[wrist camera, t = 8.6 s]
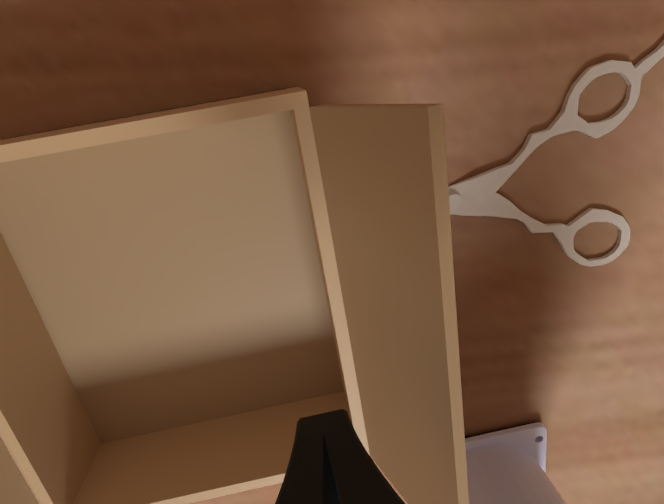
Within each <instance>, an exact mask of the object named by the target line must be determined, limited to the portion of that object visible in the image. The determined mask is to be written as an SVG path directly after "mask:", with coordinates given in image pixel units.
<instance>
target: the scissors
mask: <svg viewBox="0 0 664 504" xmlns="http://www.w3.org/2000/svg"><path fill="white" fill-rule="evenodd" d="M662 57H664V39H663V40H662V41H661V43H660V44H659V45H658V46H657V47H656V48H655V49H654V50H653V51H652V52H651V53H650V54H648V55H647V56H646V57H644V58H643V59H641V60H640V61H639V62H638V63H637V64H636V65H634V66H633V65H632V63H631V62H626V61H616V60H607V61H604V62H601V63H599V64H596V65H593V66H590V67H588V68H586V69H585V70H584V71H583V72H582V73H581V75H580V76H579V77H578V78H577V79H576V80H575V82H574V83H573V84H572V85H571V87H570V89H569V91H568V92H567V94H566V96H565V99H564V102H563V105H562V109H561V112H560V113H559V114H558V115H557V117H556V118H555V119H554V120H553V121H552V123H551V124H550V125H549V126H548V128H547V129H545V130H541V131H538V132H534V133H531V134H528V136H527V138H526V140H525V142H524V144H523V146H522V148H521V150H520V151H519V152H518V153H517V154H516V155H515V156H514V157H513V158H512V159H511V161H510V162H509V163H507V164H504V165H501V166H498V167H496V168H493V169H490V170H488V171H485V172H483V173H480V174H478V175H475V176H473V177H470V178H468V179H466V180H463V181H461V182H458V183H456V184H453V185H451V186H448V190H449V205H450V215H452V214H454V215H461V216H493V217H501V218H513V219H518V220H520V221H521V222H523V223H524V225H525V226H526V228H527V229H528V230H529V232H531V233H546V232H552V233H553V235H554V236H555V237H556V239H557V240H558V242H559V243H560V245H561V248H562V250H563V252H564V253H565V254H566V255H567V256H568V257H570V258H571V259H573V260H574V261H576V262H577V263H579V264H580V265H584V266H589V267H594V266H600V265H605V264H607V263H609V262H611V261H613V260H614V259H616V258H617V257H618V256H619V255H620V254H621V253H622V252H623V251H624V250H625V249H626V248H627V246H628V243H629V241H630V227H629V226H628V224H627V222H626V221H625V219H624V217H622V216H620V215H618V214H615V213H613V212H611V211H608V210H606V209H598V208H588V209H587V210H585V211H584V212H583V213H581V214H580V215H579V216H577V217H576V218H575V219H573V220H572V221H571V222H569V223H568V224H566V225H564V224H562V223H550V224H543V223H541V222H539V221H537V220H535V219H533V218H531V217H530V216H528V215H526V214H525V213H523V212H522V211H520V210H519V209H518V208H517V207H516V206H515V205H514V204H513V203H512V202H510V201H509V200H507V199H506V198H504V197H503V196H501V195H499V194H498V193H496V192H497V190H498V189H499V188H500V187H501V186H502V185H503V184H504V183H505V182H506V181H507V180H508V178H509V177H510V176H511V175H512V174H513V173H514V172H515V171H516V170H517V169H518V168H519V166H520V165H521V164H522V163H523V162H524V161H525V160H526V158H527V157H528V156H529V155H530V154H531V153H532V152H533V151H534V150H535V149H536V148H537V147H538V146H539V145H541V144H542V143H544V142H545V141H546V140H548V139H549V138H551V137H552V136H555V135H559V134H563V133H567V132H570V131H574V130H575V131H579V132H581V133H583V134H585V135H587V136H589V137H591V138H595V139H597V138H599V137H601V136H603V135H605V134H607V133H609V132H610V131H612V130H614V129H615V128H616V127H617V126H618V125H619V124H620V123H621V122H622V121H623V120H624V119H625V118H626V117H627V116H628V114H629V113H630V112H631V111H632V109H633V108H634V107H635V105H636V102H637V100H638V97H639V95H640V86H641V77H642V76H643V75H645V74H646V73H647V72H648V71H649V70H650V69H651V68H652V67H653V66H654V65H655V64H656V63H657V62H658V61H659V60H660V59H661V58H662ZM614 72H617V73H618V74H619V75H620V76H622V77H623V79H624V80H625V82H626V84H627V89H626V96H625V100H624V102H623V104H622V106H621V107H620V108H619V109H618V110H617V111H616V112H615V113H614V114H613V115H611V116H610V117H608V118H606V119H603V120H600V121H597V122H589V123H587V122H586V121H585V120H583V119H582V118H581V117H579V116H578V105H579V96H580V94H581V93H582V92H583V90H584V89H585V88H586V86H587V85H588V84H589V83H590V82H591V81H592V80H594V79H595V78H597V77H598V76H600V75H604V74H608V73H614ZM323 189H324V188H323ZM324 195H325V194H324ZM590 222H610V223H612V224H613V225H615V226H616V227H617V228H618V239H617V243H616V245H615V247H614V248H613V249H612V250H611V251H610V252H609V253H607V254H606V255H604V256H603V257H598V258H591V259H585V258H583V257H582V256H580V255H579V254H578V253H577V252H576V251H575V250H574V236H575V234H576V232H577V231H578V230H579V229H581V228H582V227H584V226H585V225H587V224H588V223H590ZM334 252H335V251H334Z"/></svg>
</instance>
